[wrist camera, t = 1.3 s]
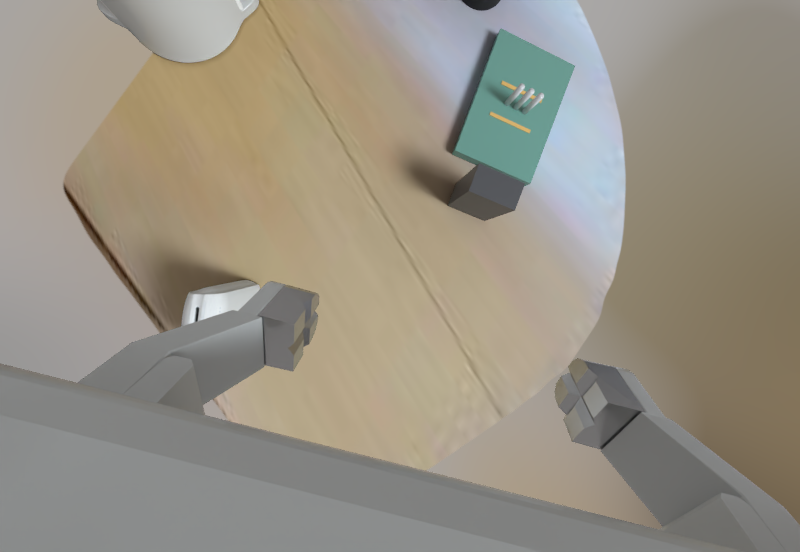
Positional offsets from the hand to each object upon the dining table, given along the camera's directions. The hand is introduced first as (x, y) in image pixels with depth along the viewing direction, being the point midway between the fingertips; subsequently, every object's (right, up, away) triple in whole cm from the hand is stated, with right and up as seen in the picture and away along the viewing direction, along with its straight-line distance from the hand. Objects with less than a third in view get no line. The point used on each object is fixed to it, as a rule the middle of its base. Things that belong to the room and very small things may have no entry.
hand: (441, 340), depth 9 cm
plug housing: (+9, +13, +34) cm, 37 cm away
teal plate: (+15, +26, +34) cm, 45 cm away
